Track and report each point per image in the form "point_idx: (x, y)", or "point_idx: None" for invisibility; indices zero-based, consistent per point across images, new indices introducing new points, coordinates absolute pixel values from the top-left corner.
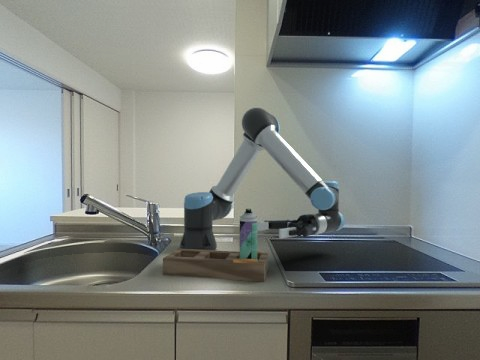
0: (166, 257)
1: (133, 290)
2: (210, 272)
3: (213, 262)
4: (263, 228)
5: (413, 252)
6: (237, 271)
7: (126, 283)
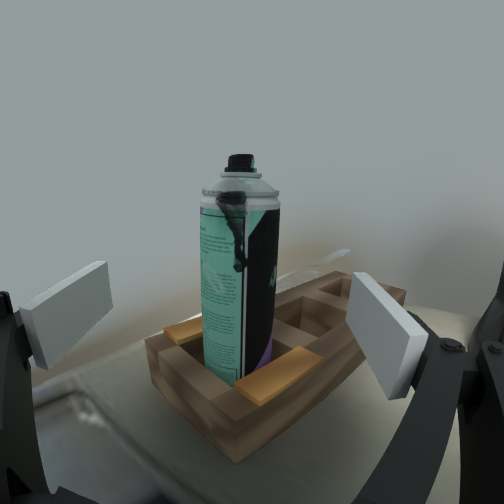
0: (339, 273)
1: (281, 278)
2: None
3: None
4: (372, 353)
5: None
6: None
7: (313, 278)
